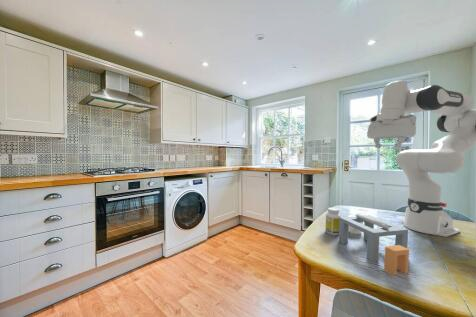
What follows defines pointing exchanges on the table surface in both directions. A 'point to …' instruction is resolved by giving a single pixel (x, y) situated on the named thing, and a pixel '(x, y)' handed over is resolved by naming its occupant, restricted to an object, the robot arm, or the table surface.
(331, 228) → the pill bottle
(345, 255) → the table surface
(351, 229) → the shot glass
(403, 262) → the tall tan box
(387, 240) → the table surface
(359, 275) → the table surface
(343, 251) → the table surface
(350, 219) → the square frame with slider
